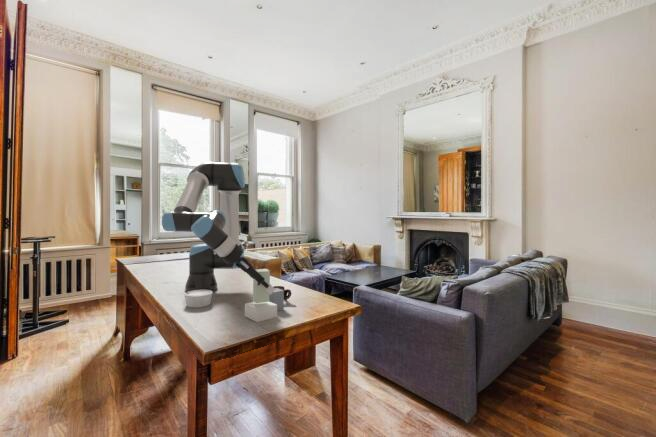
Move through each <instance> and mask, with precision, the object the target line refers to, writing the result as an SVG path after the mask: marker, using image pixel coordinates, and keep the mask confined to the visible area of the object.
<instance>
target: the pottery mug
mask: <svg viewBox="0 0 656 437" xmlns="http://www.w3.org/2000/svg"><path fill="white" fill-rule="evenodd" d="M273 287H274V288H279V289H281V290H284V302H287V300H289V299H290V298H291V296H292V290H290V289H289V288H287V289H285V286H282V285H274V286H273Z"/></svg>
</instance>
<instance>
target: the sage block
mask: <svg viewBox="0 0 656 437" xmlns="http://www.w3.org/2000/svg"><path fill="white" fill-rule="evenodd" d="M254 269H255V268H254ZM255 270H256V271H257V272H258V273H259V274H260V275H261V276H262V277H264V279H265V280H266V281H267V282H268V283H269V284H270V285H271V282H270V280H271V279H270V278H271V270H270V269H268V268H258V269H255ZM252 280H253V285H252V287H253V288H252V300H253V302H256V303H262V302H269V293H268V292H267V291H266V290H265V289H264V288H263V287H262V286H261V285H259V286H258V285H257V284H258V282H257V281H256V280H255V279H254V278H252Z"/></svg>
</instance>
